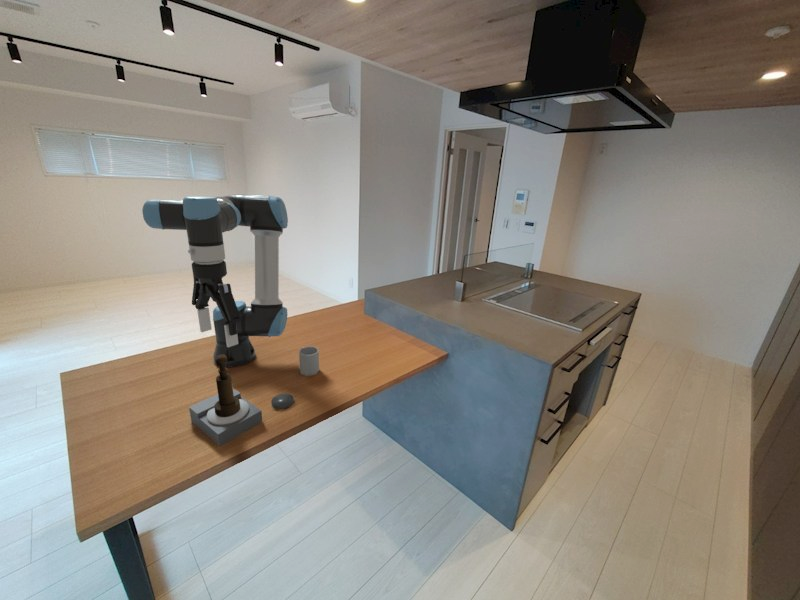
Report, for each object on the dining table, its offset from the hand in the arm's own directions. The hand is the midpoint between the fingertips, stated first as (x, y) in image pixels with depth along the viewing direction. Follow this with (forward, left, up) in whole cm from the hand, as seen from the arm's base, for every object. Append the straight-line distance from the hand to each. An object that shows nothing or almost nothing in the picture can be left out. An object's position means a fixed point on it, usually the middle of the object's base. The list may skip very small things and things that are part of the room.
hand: (218, 337), depth 91 cm
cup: (-6, +35, -29) cm, 45 cm away
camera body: (-1, 0, -28) cm, 28 cm away
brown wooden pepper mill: (0, 0, -24) cm, 24 cm away
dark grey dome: (+4, +16, -28) cm, 33 cm away
